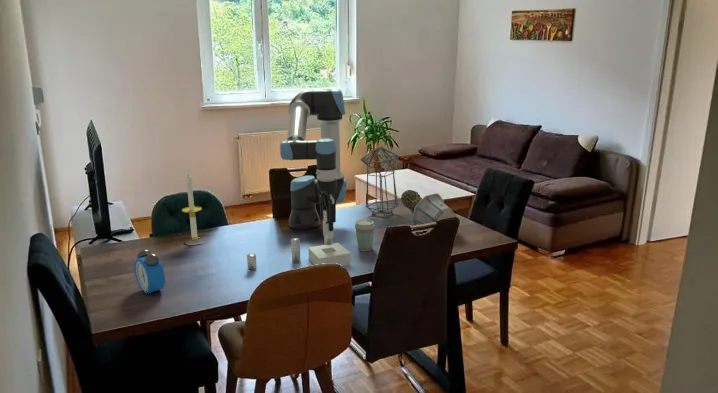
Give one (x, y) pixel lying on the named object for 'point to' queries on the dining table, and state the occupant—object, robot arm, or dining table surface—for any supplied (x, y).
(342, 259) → the hole block
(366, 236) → the coffee cup
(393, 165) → the geometric lantern
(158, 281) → the alarm clock
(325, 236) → the long pin
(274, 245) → the dining table surface
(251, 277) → the dining table surface
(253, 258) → the short pin
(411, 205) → the potted plant
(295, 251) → the medium pin
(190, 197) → the candlestick
